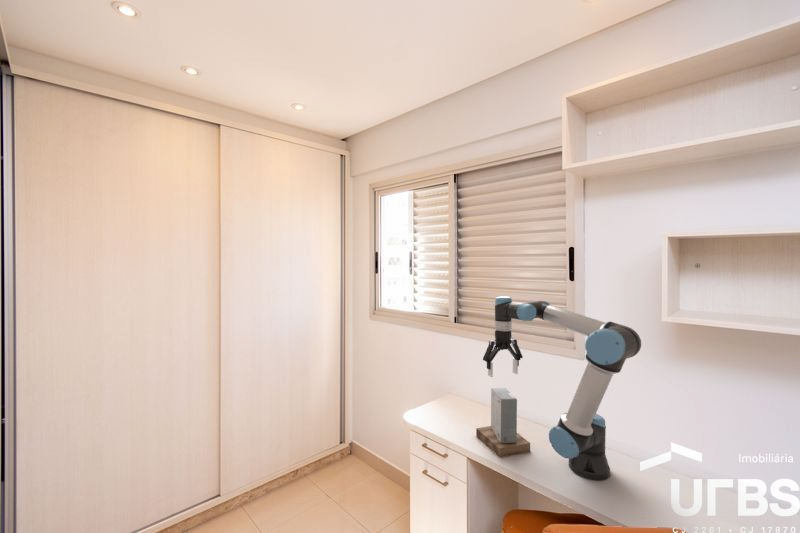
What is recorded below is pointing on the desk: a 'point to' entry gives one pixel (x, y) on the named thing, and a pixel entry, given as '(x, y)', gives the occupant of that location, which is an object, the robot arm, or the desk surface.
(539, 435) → the desk surface
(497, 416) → the hard drive box
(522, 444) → the walnut riser
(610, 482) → the desk surface
